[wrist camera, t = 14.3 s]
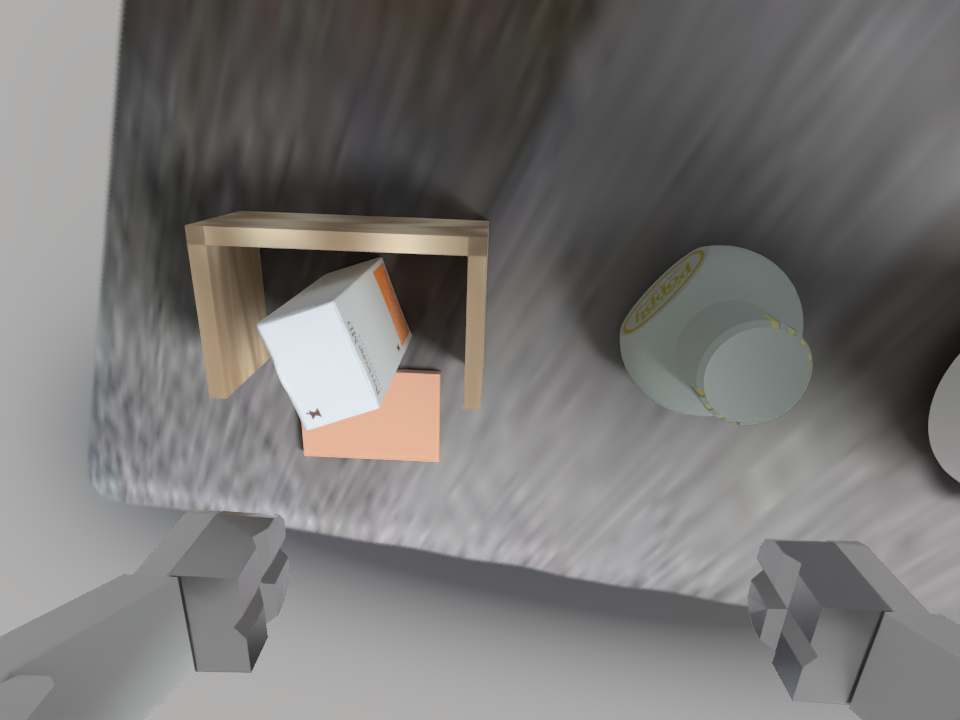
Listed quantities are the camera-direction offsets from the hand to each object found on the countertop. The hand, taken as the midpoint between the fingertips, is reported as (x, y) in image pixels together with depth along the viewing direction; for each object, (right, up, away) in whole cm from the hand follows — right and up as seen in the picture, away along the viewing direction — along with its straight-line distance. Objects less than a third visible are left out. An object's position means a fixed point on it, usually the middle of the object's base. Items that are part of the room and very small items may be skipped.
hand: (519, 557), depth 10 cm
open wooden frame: (-8, +7, +29) cm, 31 cm away
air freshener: (+14, +6, +29) cm, 32 cm away
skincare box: (-8, +7, +29) cm, 31 cm away
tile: (-9, 0, +32) cm, 33 cm away
